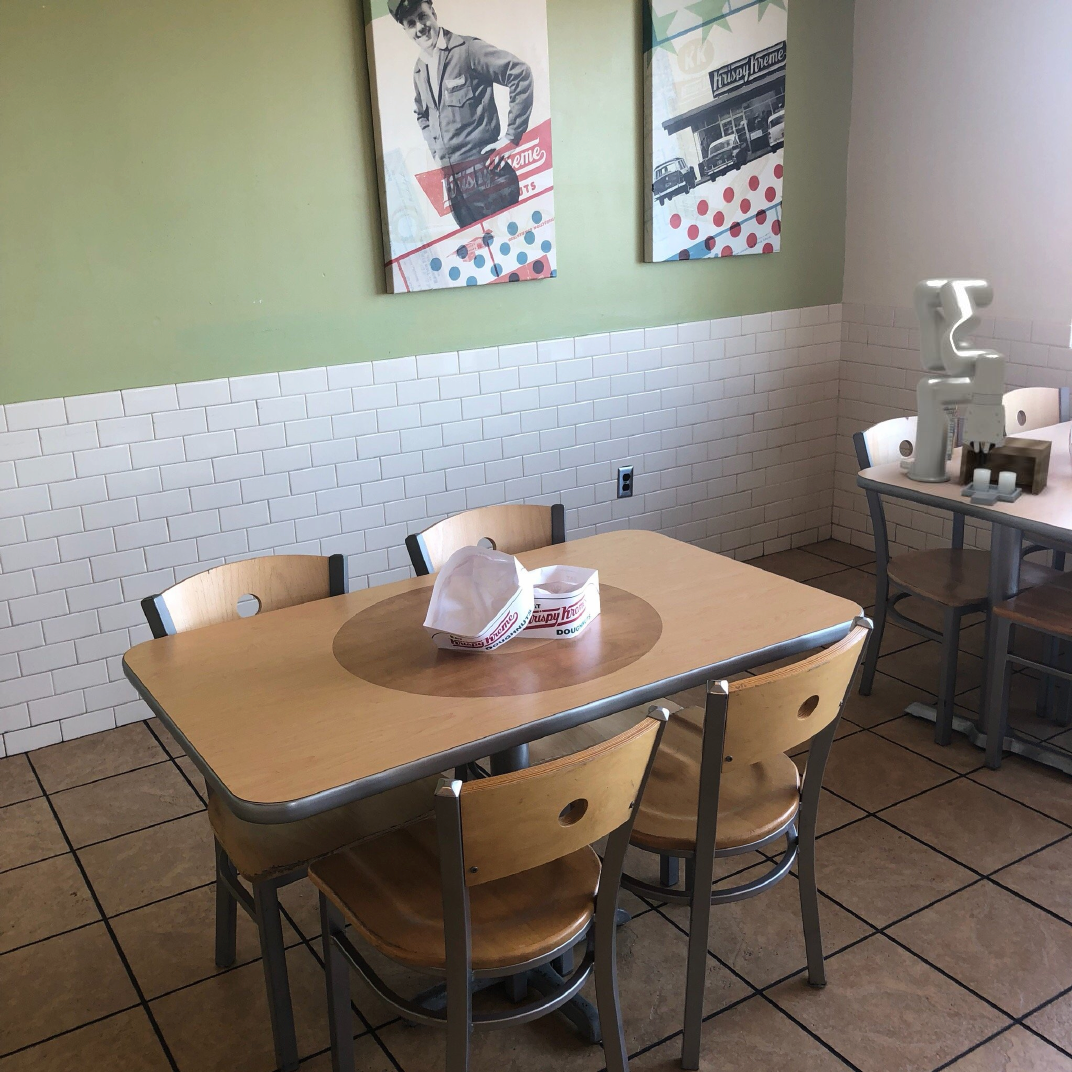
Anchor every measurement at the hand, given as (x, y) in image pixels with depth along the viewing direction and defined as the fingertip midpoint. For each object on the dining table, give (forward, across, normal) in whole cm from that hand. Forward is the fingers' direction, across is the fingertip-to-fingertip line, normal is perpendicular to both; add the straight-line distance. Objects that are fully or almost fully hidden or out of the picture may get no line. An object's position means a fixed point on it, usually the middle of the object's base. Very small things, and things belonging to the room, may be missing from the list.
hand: (981, 465), depth 289 cm
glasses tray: (+12, -1, +15) cm, 19 cm away
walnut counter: (+12, -1, +30) cm, 33 cm away
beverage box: (+11, -27, +58) cm, 65 cm away
